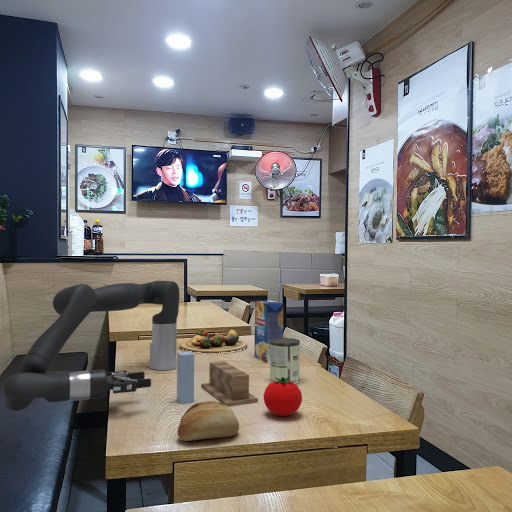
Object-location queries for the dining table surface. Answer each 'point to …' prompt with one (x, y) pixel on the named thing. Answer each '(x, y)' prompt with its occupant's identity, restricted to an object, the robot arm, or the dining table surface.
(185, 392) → the blue gray rectangular block
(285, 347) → the coffee can
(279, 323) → the juice carton
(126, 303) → the robot arm
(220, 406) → the bread roll
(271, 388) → the tomato
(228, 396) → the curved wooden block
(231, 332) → the wooden plate with food
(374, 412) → the dining table surface
